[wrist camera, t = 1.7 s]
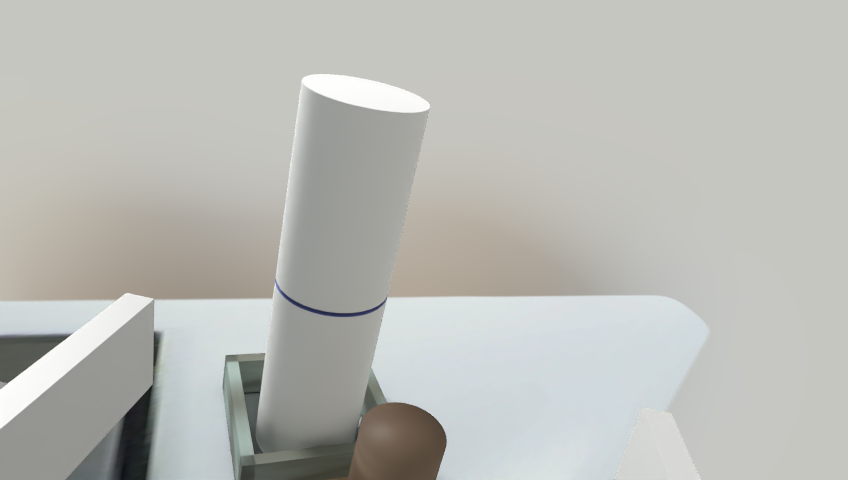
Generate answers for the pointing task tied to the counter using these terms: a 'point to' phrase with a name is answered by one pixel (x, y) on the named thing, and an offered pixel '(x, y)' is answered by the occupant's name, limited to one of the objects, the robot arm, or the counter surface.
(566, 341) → the counter surface
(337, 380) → the cylindrical container
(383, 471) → the holder stand
